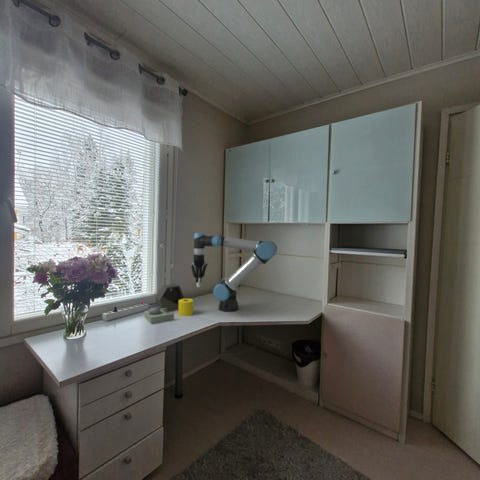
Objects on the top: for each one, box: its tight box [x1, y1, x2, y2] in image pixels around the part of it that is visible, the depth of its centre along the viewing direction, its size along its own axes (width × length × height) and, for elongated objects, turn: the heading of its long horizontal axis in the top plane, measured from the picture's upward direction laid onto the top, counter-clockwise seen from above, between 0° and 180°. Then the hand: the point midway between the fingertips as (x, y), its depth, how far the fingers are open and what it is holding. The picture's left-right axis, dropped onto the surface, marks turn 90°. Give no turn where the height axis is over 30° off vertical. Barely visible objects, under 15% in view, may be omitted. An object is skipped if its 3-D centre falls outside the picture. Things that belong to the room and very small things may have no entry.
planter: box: [154, 283, 185, 313], centre depth 187 cm, size 17×8×21 cm
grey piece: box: [144, 306, 175, 325], centre depth 167 cm, size 14×15×7 cm
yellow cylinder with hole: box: [177, 298, 194, 317], centre depth 178 cm, size 10×10×9 cm
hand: (198, 286), depth 183 cm, fingers closed
